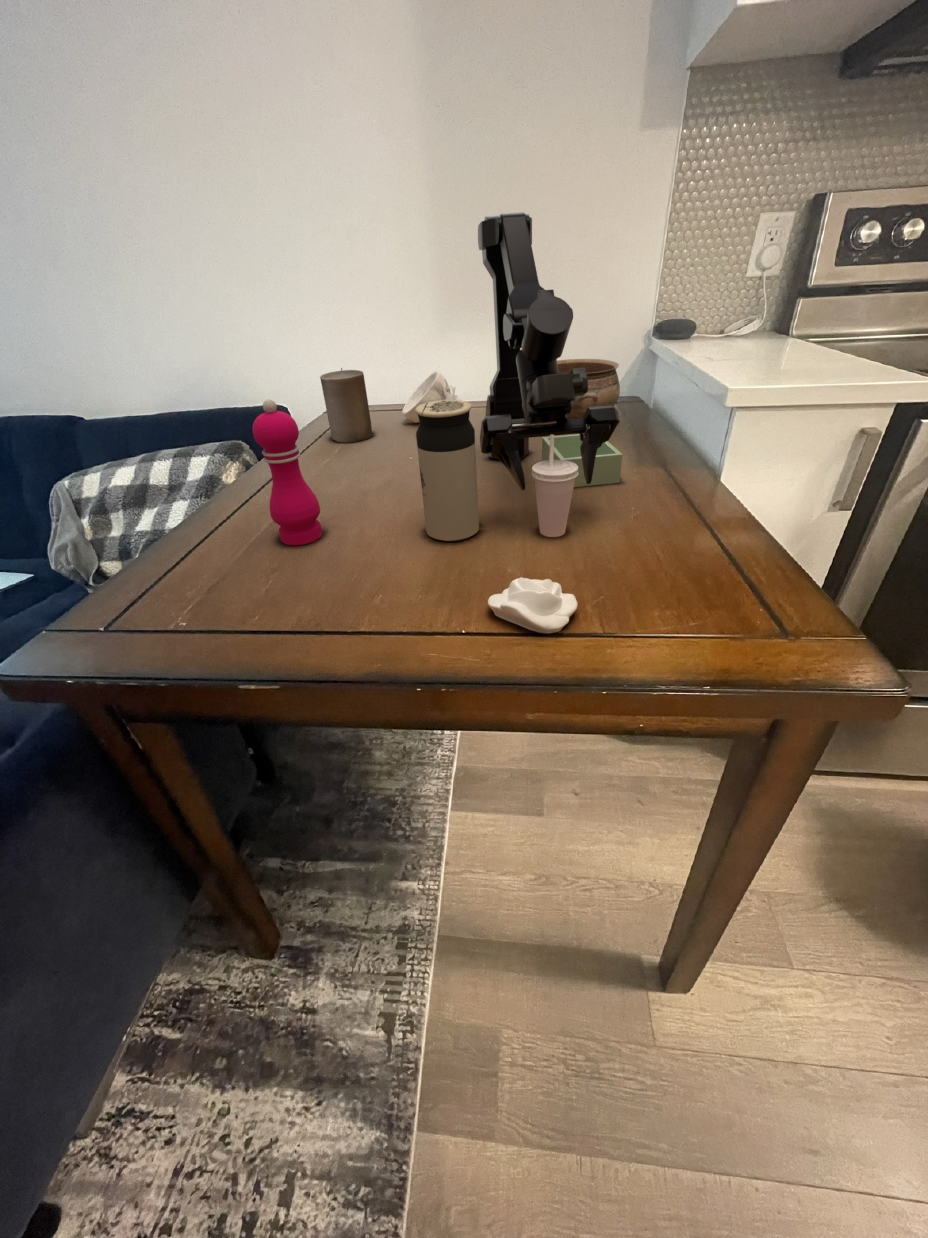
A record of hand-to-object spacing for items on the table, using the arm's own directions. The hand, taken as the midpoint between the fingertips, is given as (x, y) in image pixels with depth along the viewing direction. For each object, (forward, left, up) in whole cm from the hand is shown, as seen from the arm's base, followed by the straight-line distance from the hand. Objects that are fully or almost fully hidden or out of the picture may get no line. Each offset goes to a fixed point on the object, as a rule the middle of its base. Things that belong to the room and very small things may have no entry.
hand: (556, 485), depth 75 cm
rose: (+4, -20, -8) cm, 22 cm away
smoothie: (-1, +1, -8) cm, 8 cm away
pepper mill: (-36, -14, -8) cm, 39 cm away
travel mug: (-15, -4, -8) cm, 17 cm away
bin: (-5, +26, -7) cm, 27 cm away
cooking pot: (-16, +58, -8) cm, 61 cm away
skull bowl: (-50, +51, -8) cm, 72 cm away
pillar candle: (-62, +33, -8) cm, 70 cm away
